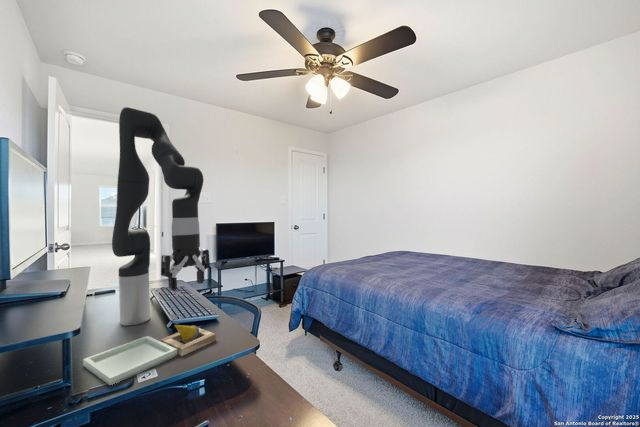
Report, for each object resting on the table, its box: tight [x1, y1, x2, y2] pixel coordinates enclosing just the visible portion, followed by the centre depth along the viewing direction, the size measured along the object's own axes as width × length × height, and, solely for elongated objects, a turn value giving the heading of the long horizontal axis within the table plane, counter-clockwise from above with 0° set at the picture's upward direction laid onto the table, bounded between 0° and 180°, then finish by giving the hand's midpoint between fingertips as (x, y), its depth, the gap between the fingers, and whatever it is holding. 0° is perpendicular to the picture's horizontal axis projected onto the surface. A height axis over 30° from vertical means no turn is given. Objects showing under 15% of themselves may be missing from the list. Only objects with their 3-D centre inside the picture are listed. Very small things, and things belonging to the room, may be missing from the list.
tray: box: [82, 335, 178, 386], centre depth 77 cm, size 16×16×2 cm
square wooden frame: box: [159, 327, 217, 357], centre depth 87 cm, size 11×11×2 cm
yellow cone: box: [174, 324, 201, 344], centre depth 87 cm, size 5×5×10 cm
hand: (187, 286), depth 86 cm, fingers open, 8 cm apart
